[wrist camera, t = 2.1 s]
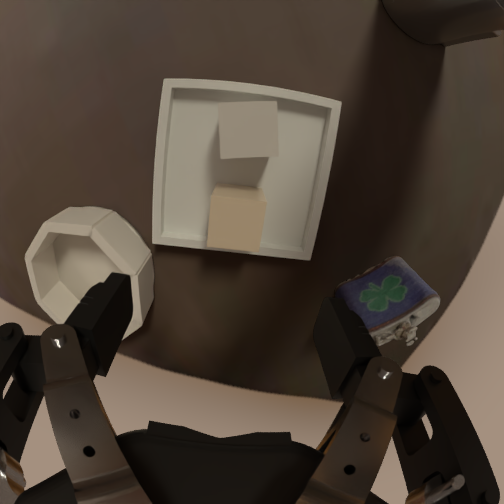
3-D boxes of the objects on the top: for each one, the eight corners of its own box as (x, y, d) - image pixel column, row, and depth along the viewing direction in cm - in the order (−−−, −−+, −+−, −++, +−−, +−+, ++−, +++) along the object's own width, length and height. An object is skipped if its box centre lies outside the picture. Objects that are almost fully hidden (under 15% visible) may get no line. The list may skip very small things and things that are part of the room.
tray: (333, 103, 22) (341, 101, 20) (305, 250, 28) (310, 260, 26) (170, 82, 20) (164, 78, 18) (158, 234, 27) (152, 243, 25)
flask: (399, 250, 29) (451, 302, 19) (403, 269, 30) (451, 323, 20) (330, 286, 30) (362, 354, 20) (337, 304, 31) (368, 371, 22)
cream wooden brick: (261, 188, 24) (266, 202, 20) (255, 229, 26) (258, 252, 21) (217, 182, 24) (211, 195, 19) (212, 224, 25) (206, 246, 21)
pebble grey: (269, 107, 21) (277, 100, 17) (271, 151, 23) (278, 156, 18) (222, 109, 21) (217, 103, 16) (224, 153, 23) (220, 159, 18)
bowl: (154, 210, 26) (135, 230, 21) (157, 322, 31) (146, 353, 26) (46, 203, 24) (18, 219, 19) (64, 304, 30) (45, 328, 25)
